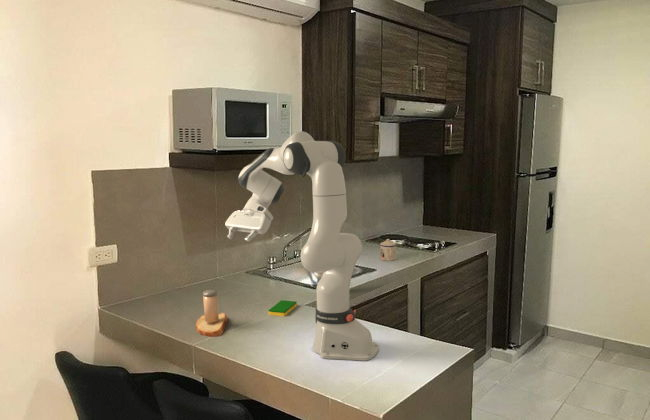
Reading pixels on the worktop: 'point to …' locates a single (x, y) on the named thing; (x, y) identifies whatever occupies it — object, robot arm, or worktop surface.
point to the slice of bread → (211, 326)
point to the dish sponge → (282, 308)
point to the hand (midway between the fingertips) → (238, 239)
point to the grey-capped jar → (210, 305)
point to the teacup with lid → (387, 250)
